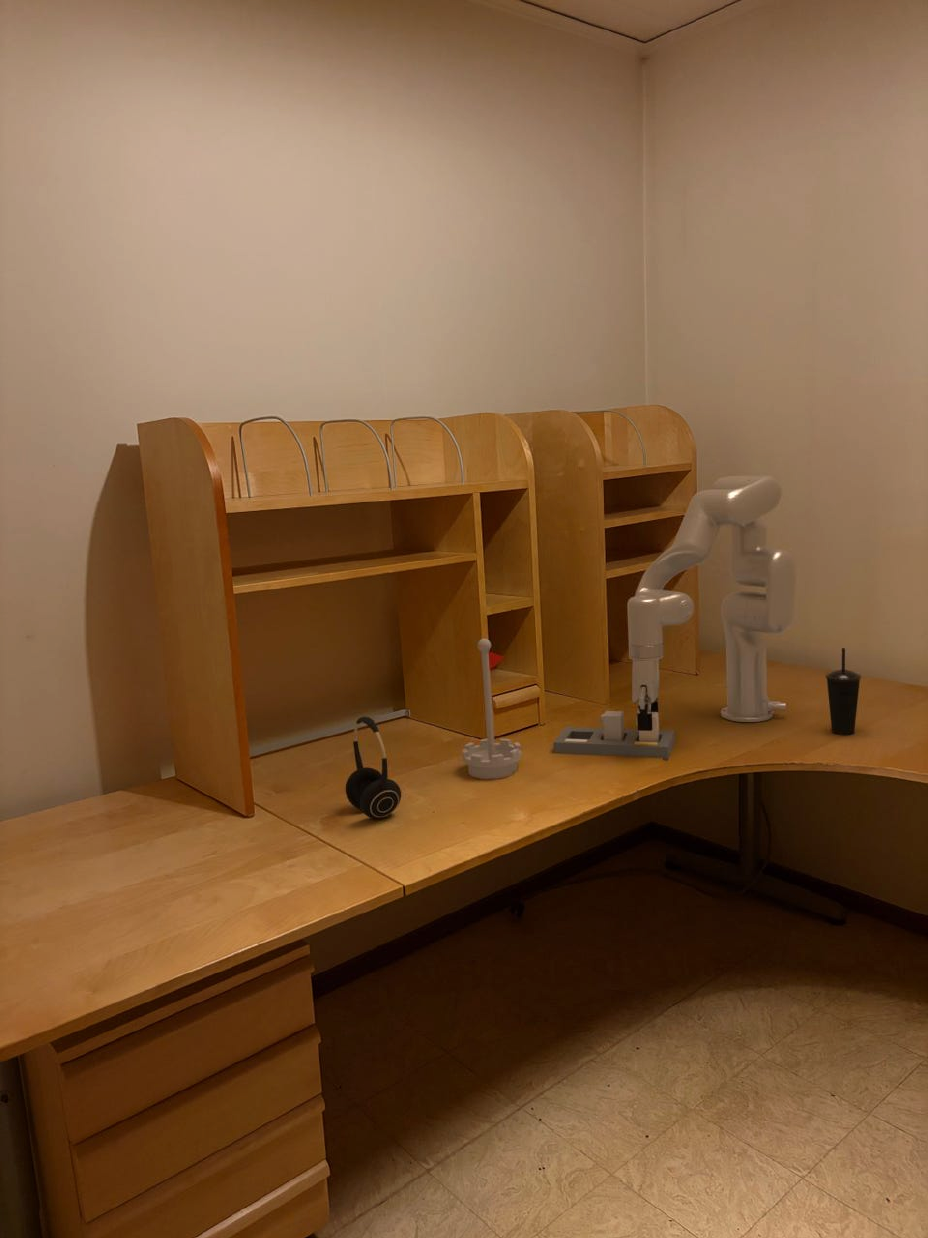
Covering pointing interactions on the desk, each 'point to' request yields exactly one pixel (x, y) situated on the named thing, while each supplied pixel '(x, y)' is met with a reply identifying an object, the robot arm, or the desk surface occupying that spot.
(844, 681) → the drinking cup
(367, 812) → the headphones
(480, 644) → the flag stand
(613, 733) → the grey slotted tray
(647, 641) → the robot arm
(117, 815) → the desk surface
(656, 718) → the ivory plug
